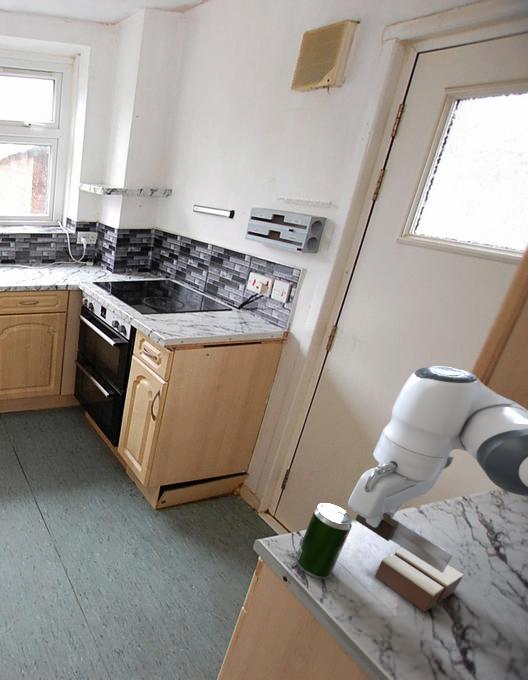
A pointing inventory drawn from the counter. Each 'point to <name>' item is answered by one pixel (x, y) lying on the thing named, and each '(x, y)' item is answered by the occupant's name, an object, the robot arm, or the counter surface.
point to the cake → (433, 573)
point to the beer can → (323, 540)
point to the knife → (410, 541)
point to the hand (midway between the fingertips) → (378, 521)
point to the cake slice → (409, 582)
